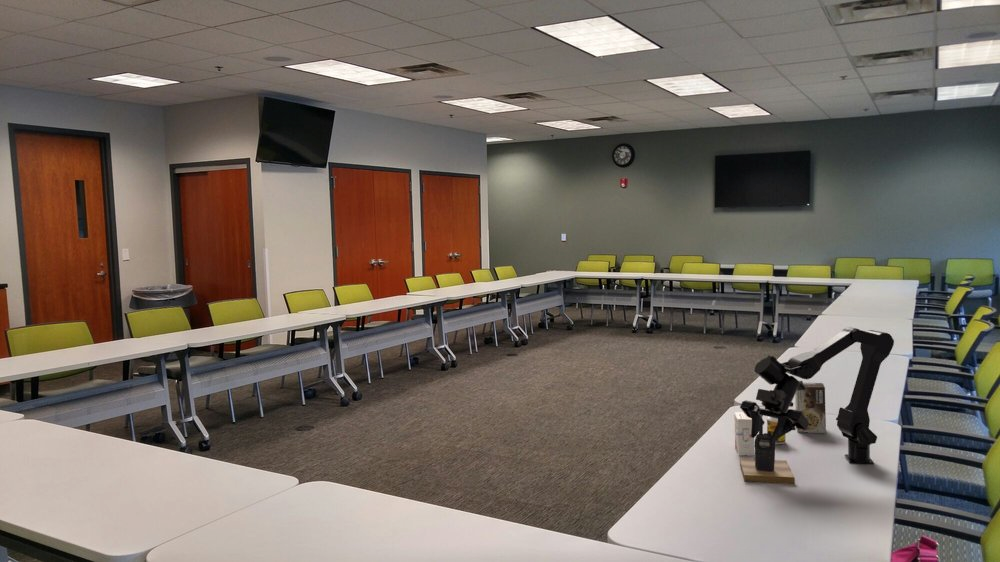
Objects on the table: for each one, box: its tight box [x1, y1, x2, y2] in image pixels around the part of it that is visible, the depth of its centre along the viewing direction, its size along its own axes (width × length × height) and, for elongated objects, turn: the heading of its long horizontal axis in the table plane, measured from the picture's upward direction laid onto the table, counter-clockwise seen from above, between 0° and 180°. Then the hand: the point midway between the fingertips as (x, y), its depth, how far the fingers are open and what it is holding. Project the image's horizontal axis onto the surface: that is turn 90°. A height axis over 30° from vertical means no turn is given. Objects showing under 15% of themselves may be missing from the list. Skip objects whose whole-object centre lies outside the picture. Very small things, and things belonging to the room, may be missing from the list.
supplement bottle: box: [766, 416, 787, 445], centre depth 220 cm, size 6×6×10 cm
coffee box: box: [794, 382, 827, 434], centre depth 231 cm, size 9×6×16 cm
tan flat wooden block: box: [739, 458, 796, 485], centre depth 192 cm, size 14×13×2 cm
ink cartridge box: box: [733, 411, 755, 457], centre depth 212 cm, size 9×5×15 cm, turn 168°
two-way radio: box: [754, 416, 776, 471], centre depth 190 cm, size 6×4×15 cm
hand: (761, 439), depth 189 cm, fingers open, 6 cm apart
